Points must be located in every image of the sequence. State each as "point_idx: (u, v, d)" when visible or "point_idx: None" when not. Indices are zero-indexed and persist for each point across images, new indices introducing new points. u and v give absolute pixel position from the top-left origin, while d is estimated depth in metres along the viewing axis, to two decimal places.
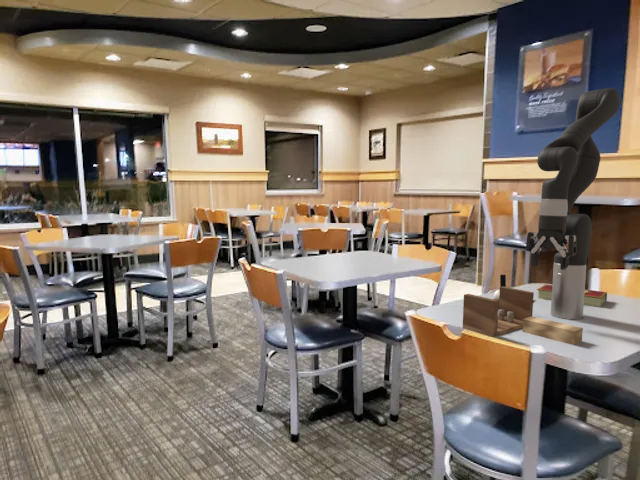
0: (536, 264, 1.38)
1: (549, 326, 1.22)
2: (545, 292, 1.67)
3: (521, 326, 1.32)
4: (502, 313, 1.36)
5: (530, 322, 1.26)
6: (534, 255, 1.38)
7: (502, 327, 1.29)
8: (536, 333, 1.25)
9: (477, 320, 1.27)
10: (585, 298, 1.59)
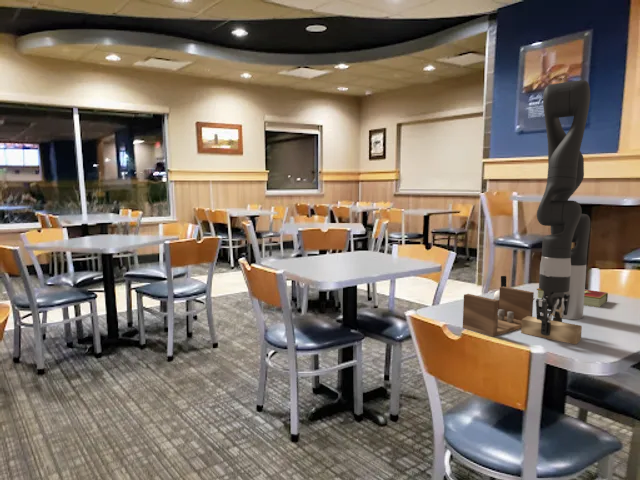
0: None
1: None
2: None
3: (521, 326, 1.32)
4: (502, 313, 1.36)
5: (530, 322, 1.25)
6: (550, 324, 1.21)
7: (502, 327, 1.29)
8: (536, 333, 1.24)
9: (477, 320, 1.27)
10: (584, 298, 1.58)
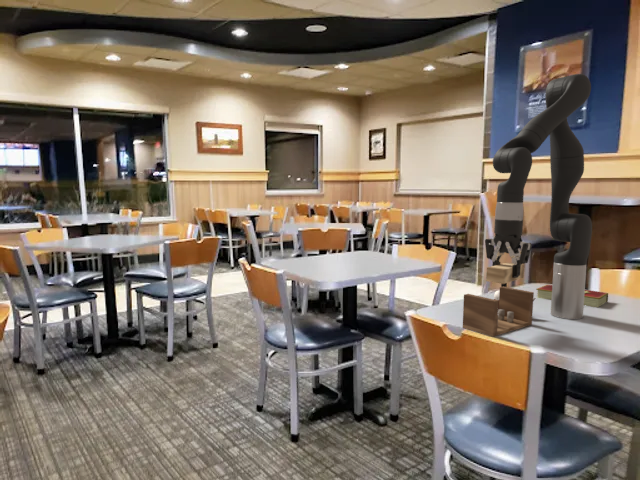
0: None
1: None
2: (544, 292, 1.68)
3: (521, 326, 1.32)
4: (502, 313, 1.36)
5: (507, 270, 1.25)
6: None
7: (502, 327, 1.29)
8: (509, 279, 1.26)
9: (477, 320, 1.27)
10: None
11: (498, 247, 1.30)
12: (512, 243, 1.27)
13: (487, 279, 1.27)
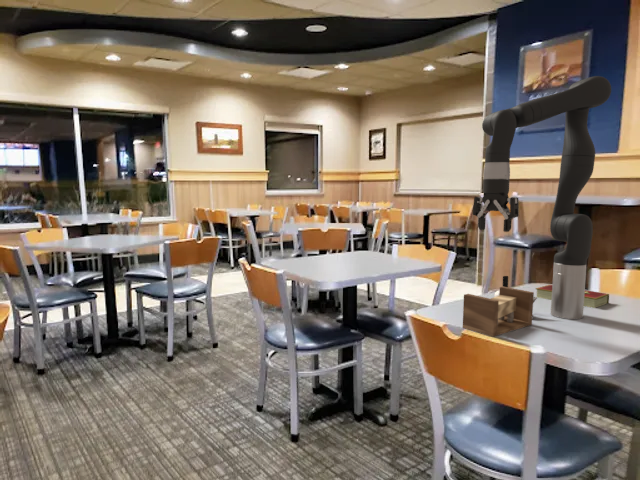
0: None
1: (507, 302, 1.31)
2: (543, 291, 1.68)
3: (521, 326, 1.32)
4: None
5: (499, 306, 1.27)
6: None
7: (502, 327, 1.29)
8: (502, 314, 1.29)
9: (477, 320, 1.27)
10: None
11: (486, 205, 1.38)
12: (499, 200, 1.34)
13: None
